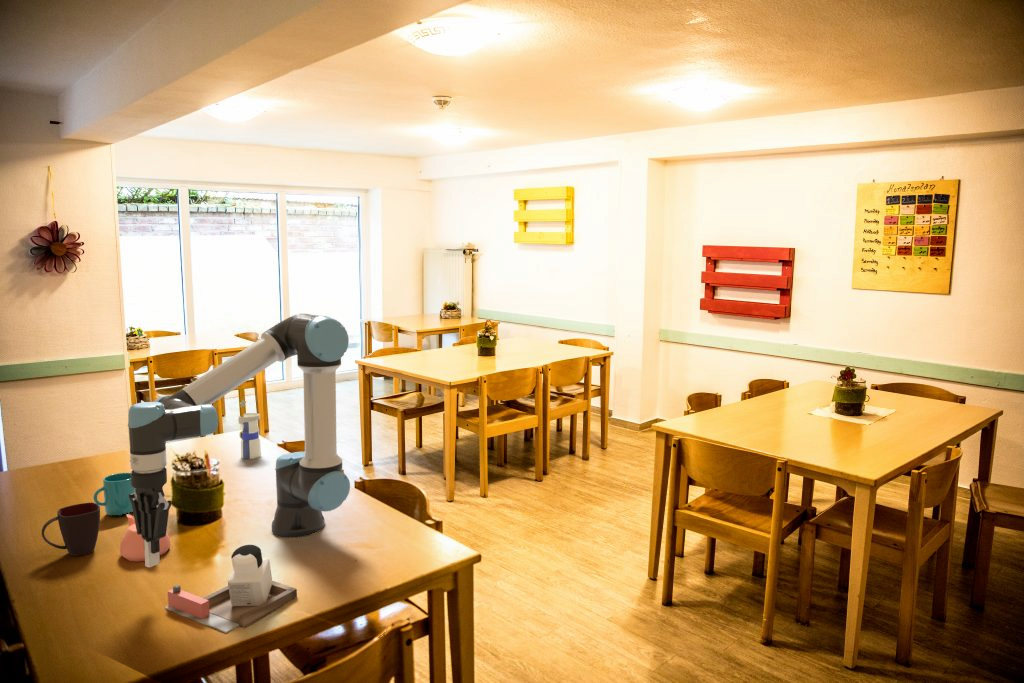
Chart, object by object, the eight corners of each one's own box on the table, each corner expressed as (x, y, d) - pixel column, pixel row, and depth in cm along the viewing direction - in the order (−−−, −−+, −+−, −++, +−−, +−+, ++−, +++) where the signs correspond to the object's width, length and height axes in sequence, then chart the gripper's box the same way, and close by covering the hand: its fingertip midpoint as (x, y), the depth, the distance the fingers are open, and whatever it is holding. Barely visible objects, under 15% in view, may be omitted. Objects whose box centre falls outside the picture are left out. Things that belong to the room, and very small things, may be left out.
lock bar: (168, 605, 166) (167, 586, 165) (176, 601, 168) (174, 582, 167) (201, 618, 160) (201, 599, 160) (209, 614, 162) (208, 595, 161)
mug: (106, 552, 195) (103, 510, 194) (46, 566, 186) (43, 522, 185) (98, 540, 203) (95, 500, 201) (40, 553, 194) (37, 512, 192)
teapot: (136, 569, 185) (134, 535, 184) (107, 550, 196) (105, 518, 195) (182, 554, 195) (180, 521, 193) (151, 537, 206) (149, 505, 204)
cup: (91, 512, 224) (89, 478, 222) (133, 503, 232) (131, 470, 230) (98, 521, 217) (95, 485, 216) (140, 511, 225) (138, 477, 224)
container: (240, 583, 172) (233, 540, 167) (273, 582, 173) (267, 540, 168) (231, 607, 165) (223, 563, 160) (264, 606, 166) (258, 563, 161)
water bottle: (234, 465, 272) (232, 402, 269) (246, 459, 281) (244, 397, 278) (254, 467, 271) (252, 403, 268) (266, 460, 280) (263, 398, 276)
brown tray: (165, 608, 165) (164, 598, 165) (233, 576, 182) (232, 567, 181) (231, 635, 154) (230, 624, 154) (297, 598, 171) (296, 588, 170)
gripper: (116, 468, 165) (120, 564, 168) (151, 477, 159) (155, 577, 162) (146, 460, 172) (150, 553, 175) (180, 469, 166) (184, 565, 168)
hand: (152, 564), depth 168 cm, fingers closed
